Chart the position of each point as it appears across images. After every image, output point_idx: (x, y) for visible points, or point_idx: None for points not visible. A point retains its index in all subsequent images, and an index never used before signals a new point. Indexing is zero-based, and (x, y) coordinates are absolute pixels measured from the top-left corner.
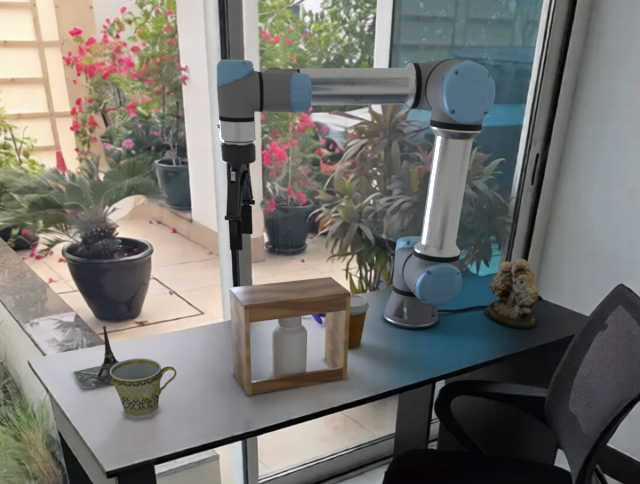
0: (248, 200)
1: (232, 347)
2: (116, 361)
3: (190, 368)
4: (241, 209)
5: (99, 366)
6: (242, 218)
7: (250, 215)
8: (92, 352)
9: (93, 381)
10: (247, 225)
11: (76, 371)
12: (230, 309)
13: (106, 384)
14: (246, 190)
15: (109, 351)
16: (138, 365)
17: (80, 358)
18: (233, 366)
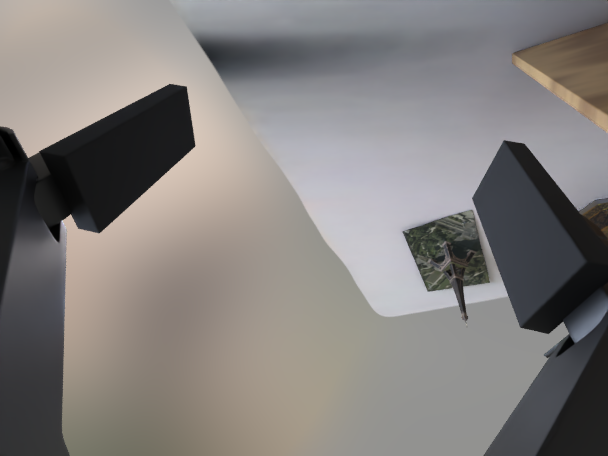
0: (34, 203)
1: (537, 80)
2: (453, 264)
3: (451, 153)
4: (113, 209)
5: (420, 270)
6: (148, 174)
7: (120, 133)
8: (363, 275)
9: (467, 273)
10: (165, 129)
11: (428, 289)
12: (588, 118)
13: (481, 260)
14: (13, 318)
15: (461, 284)
16: None
17: (381, 285)
18: (519, 67)
